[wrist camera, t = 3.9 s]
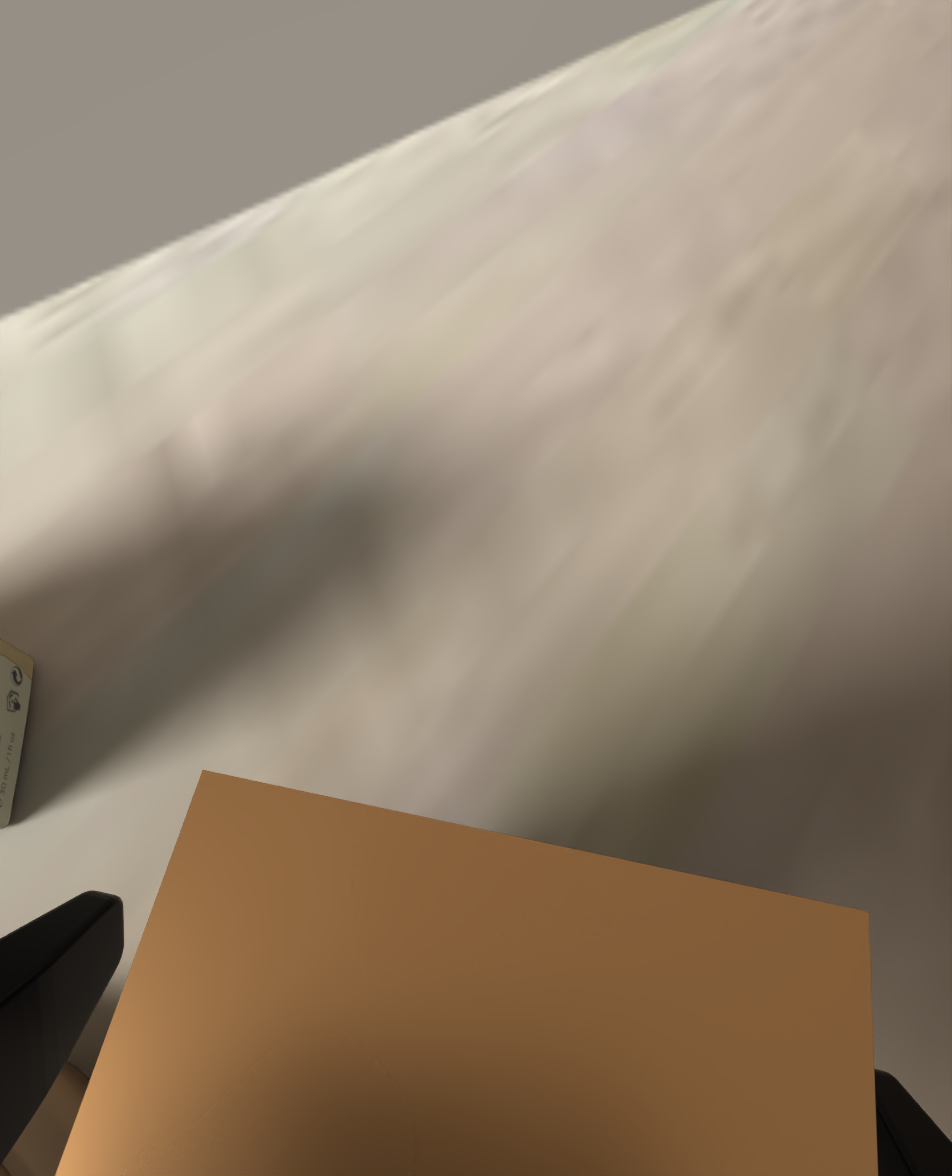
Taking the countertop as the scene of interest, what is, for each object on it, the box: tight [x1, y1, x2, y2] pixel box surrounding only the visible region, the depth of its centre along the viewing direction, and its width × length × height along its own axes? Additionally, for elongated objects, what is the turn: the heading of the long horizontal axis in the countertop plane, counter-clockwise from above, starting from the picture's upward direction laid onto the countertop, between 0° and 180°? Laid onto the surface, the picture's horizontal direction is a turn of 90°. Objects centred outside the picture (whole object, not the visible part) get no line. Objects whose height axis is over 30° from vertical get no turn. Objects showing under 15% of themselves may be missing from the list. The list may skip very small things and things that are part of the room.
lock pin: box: [55, 770, 878, 1176], centre depth 9 cm, size 4×4×13 cm
